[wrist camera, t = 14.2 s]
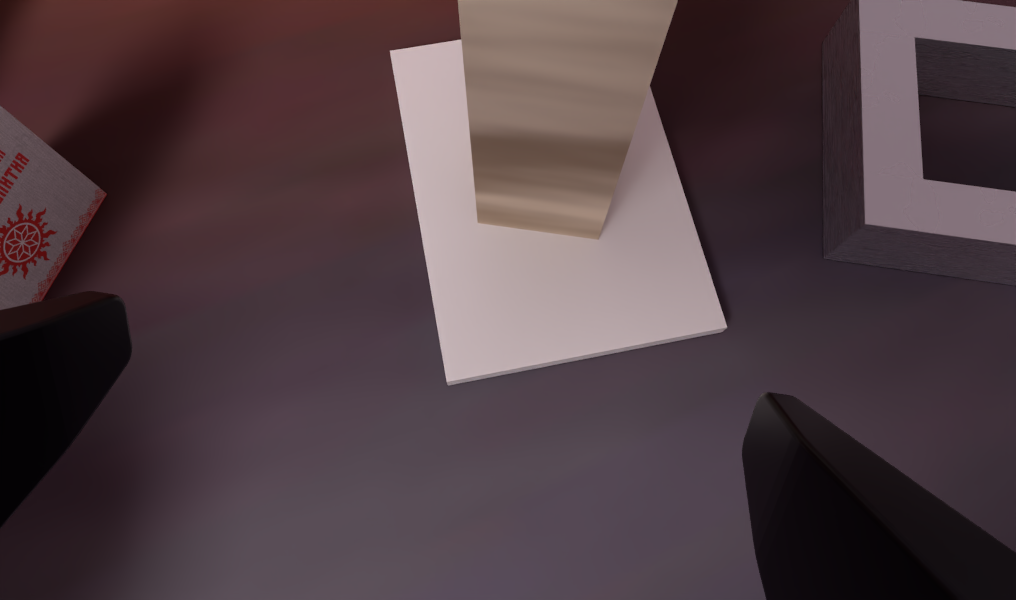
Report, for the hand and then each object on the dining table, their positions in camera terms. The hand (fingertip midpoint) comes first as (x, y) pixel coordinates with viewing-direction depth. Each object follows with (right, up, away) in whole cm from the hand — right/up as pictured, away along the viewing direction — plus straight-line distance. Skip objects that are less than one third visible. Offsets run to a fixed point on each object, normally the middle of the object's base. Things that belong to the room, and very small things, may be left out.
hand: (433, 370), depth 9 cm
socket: (+19, +6, +17) cm, 26 cm away
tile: (+2, +5, +16) cm, 17 cm away
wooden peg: (+2, +6, +16) cm, 17 cm away
